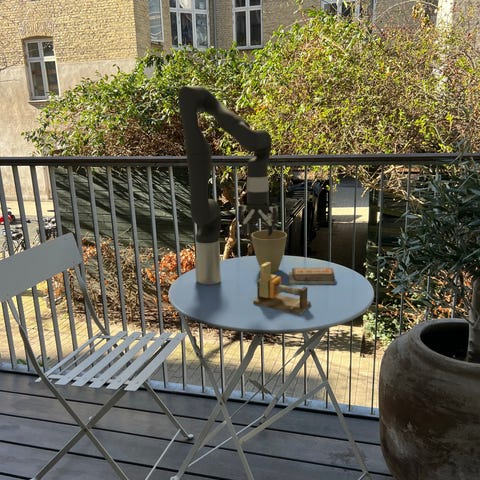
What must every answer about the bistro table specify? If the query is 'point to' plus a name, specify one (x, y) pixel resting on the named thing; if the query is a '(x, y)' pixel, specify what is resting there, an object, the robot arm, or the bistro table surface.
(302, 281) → the packaged product
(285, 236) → the plant pot
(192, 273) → the bistro table surface
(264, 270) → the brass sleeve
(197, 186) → the robot arm
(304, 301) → the pipe board
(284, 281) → the bistro table surface
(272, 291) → the orange upright board
